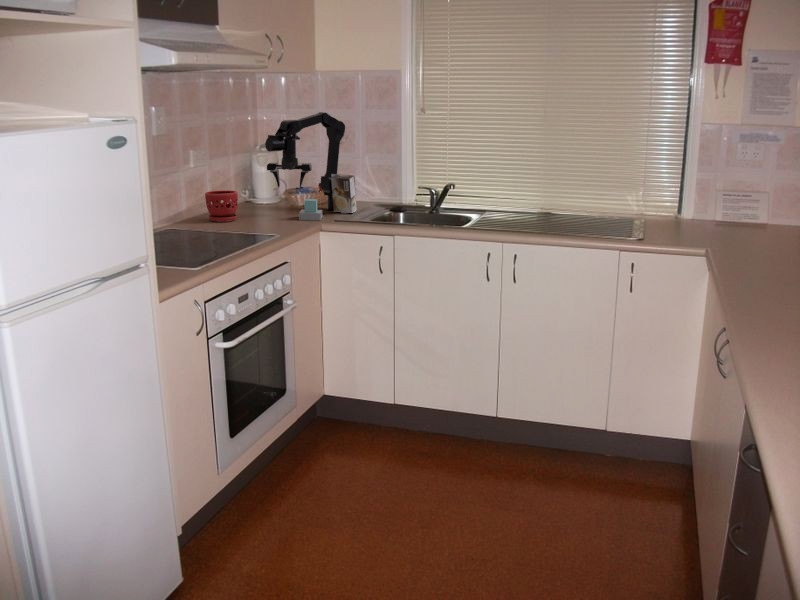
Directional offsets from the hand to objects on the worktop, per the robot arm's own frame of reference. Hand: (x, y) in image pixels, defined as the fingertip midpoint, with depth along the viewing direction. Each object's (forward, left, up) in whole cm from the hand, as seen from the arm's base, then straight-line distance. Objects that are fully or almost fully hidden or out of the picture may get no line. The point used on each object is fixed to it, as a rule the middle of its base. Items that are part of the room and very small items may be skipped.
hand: (289, 187), depth 347 cm
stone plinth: (+9, +10, -12) cm, 18 cm away
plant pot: (+17, -26, -12) cm, 33 cm away
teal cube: (+9, +10, -9) cm, 16 cm away
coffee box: (-8, +24, -12) cm, 28 cm away
